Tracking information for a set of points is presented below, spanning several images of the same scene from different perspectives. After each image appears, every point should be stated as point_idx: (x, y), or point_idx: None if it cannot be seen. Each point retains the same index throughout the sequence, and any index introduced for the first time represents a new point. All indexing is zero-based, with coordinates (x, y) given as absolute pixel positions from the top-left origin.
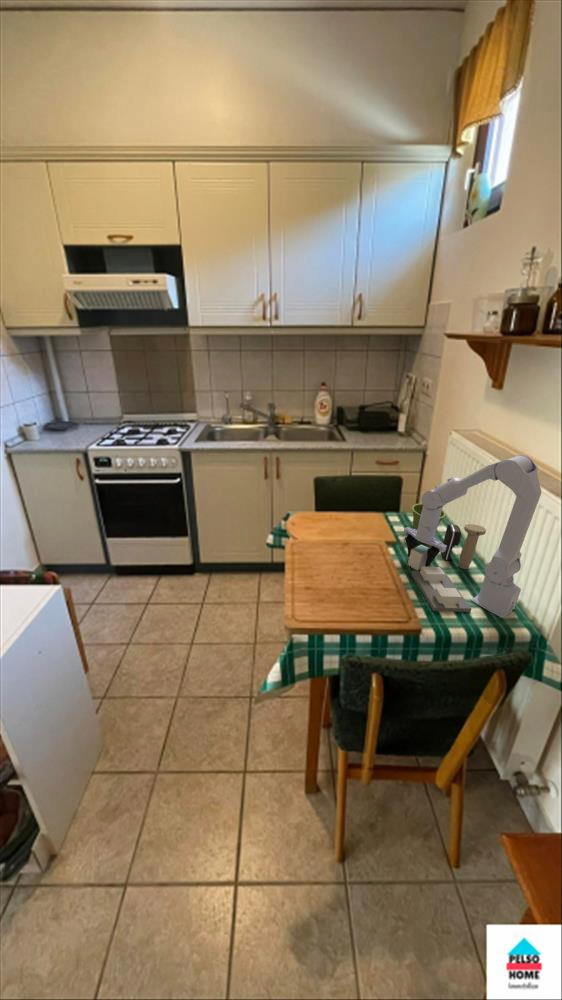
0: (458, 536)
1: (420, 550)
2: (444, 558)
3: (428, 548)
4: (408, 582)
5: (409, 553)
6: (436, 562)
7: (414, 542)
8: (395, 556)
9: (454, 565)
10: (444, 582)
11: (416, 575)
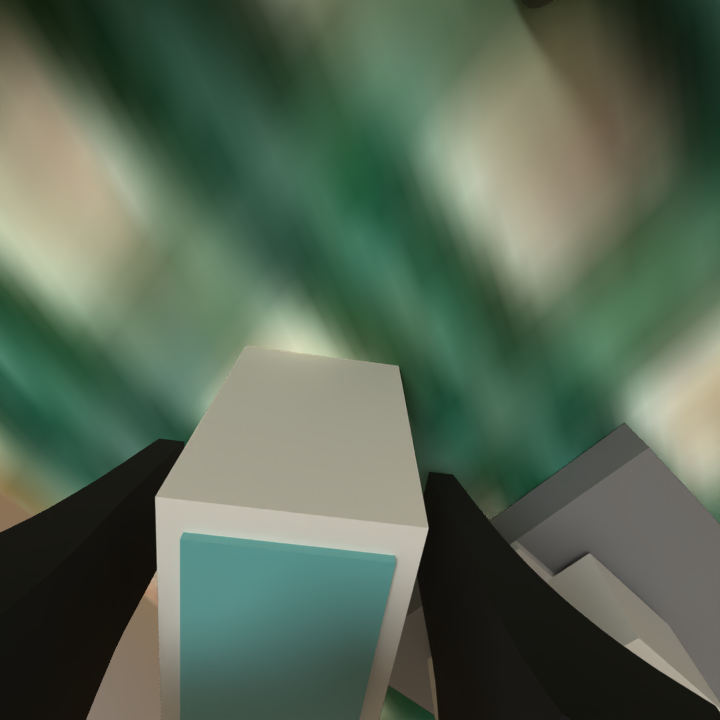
0: None
1: (282, 702)
2: (541, 3)
3: (344, 531)
4: (389, 715)
5: (154, 569)
6: (458, 205)
7: (46, 690)
8: (46, 479)
9: (717, 48)
10: (676, 616)
11: (413, 685)
